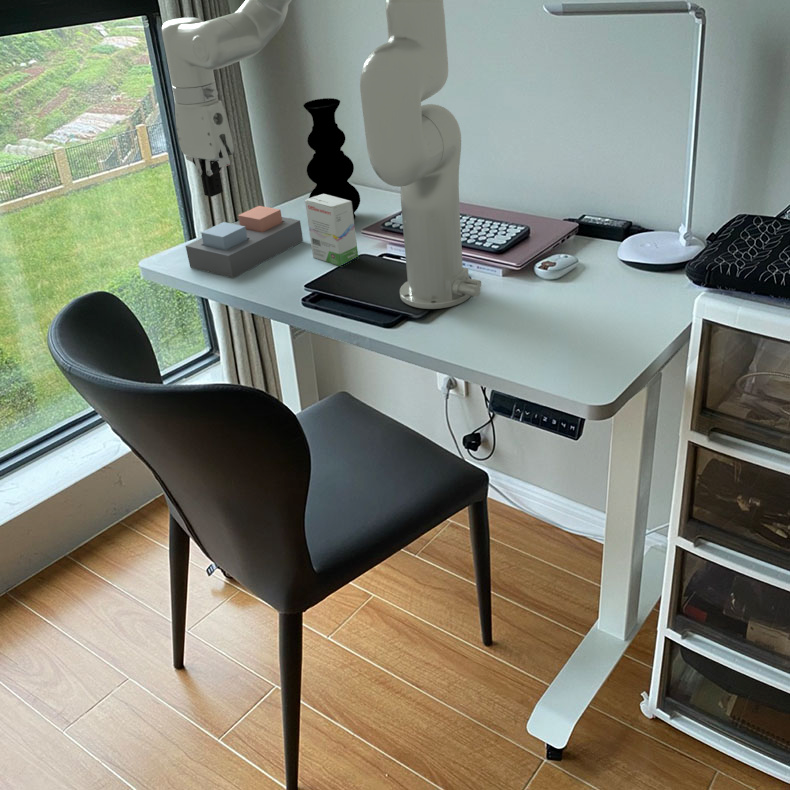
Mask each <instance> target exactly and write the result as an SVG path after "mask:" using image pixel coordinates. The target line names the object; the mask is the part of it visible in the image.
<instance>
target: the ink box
mask: <svg viewBox="0 0 790 790" xmlns="http://www.w3.org/2000/svg"><path fill="white" fill-rule="evenodd" d="M304 203H305V210H306V217H307V224H308V225H307V226H308V230H309V238H310V245H311V253H312V258H314V259H316V260H320V261H323V262H326V263H328V264H332V265H335V266H338V267H341V266H340V265H342V264H344V263H346V262H348V261H350V260H352V259H354V258H356V257H358V258H359V252H358V243H357V235H356V227H355V219H354V218H353V209H352V201H349V200H346V199H342V198H338V197H334V196H330V195H327V194H321V195H318V196H315V197H312V198H309V197H308V198H306V199H305V200H304Z"/></svg>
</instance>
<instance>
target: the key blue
mask: <svg viewBox="0 0 790 790" xmlns="http://www.w3.org/2000/svg"><path fill="white" fill-rule="evenodd" d="M200 235H201V238H202V239H203V244H204V246H207V247H211V248H216V249H220V250H224V251H225V250H227V249H230V248H232V247H234V246H236V245H238V244H240V243H242V242H244V241H246V240H248V239H247V233H246V228H245V226H241V225H236V224H233V223H230V222H226V221H223V222H221V223H218V224H216V225H214V226H211V227H209V228H208V229H205V230H203V231H201V232H200Z"/></svg>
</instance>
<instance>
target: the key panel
mask: <svg viewBox="0 0 790 790" xmlns="http://www.w3.org/2000/svg"><path fill="white" fill-rule="evenodd" d="M282 222H283V223H280V224H278V225H276V226H274V227H272V228H270V229H268V230H266V231H264V232H262V233H261V232H256V231H251V230H247V229H246V233H247V239H248V240H246V241H244V242H242V243H240V244H238V245H236V246H234V247H232V248H230V249H227V250H225V251H224V250H220V249H216V248H211V247H207V246H204V244H203V239H202V237H201V238H199V239H197V240H195V241H192V242H190V243H188V244H187V245H185V250H186V251H185V252H186V255H187V259H188V264H189V267H190V268H191V269H194V270H199V271H203V272H207V273H211V274H215V275H219V276H223V277H227V278H231V279H234V278H236V277H239V276H240V275H242V274H243V273H246V272H248V271H250V270H251V269H253V268H256V267H257V266H259V265H261V264H263V263H265V262H266V261H269V260H271V259H273V258H275V257H276V256H279V255H281V254H282V253H284V252H286V251H288V250H290V249H292V248H294V247H296V246H297V245H299V244H301V243H304V238H303V232H302V231H303V230H302V224H301V220H299V219H295V218H290V217H289V218H288V217H284V216H282ZM232 224H236V225H240V223H239V220H238V221H235V222H233V223H232Z"/></svg>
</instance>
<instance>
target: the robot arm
mask: <svg viewBox="0 0 790 790" xmlns="http://www.w3.org/2000/svg"><path fill="white" fill-rule="evenodd" d="M292 1H293V0H245V1H244V2H243V3H242V4H241V6H240V7H239V8H238V9H237V10H236V11H235V12H233V13H230V14H226V15H223V16H219V17H216V18H213V19H209V20H206V21H203V20H202V19H201V18H197V17H181V18H180V17H179V18H173V19H170V20H167V21H164V23H163V24H162V26H161V35H162V41H163V45H164V46H163V47H164V51H165V56H166V61H167V65H168V66H167V67H168V71H169V76H170V81H171V87H172V91H173V92H172V93H173V97H174V115H175V124H176V125H175V127H176V134H177V137H178V144H179V147H180V151H181V153H182V154H183V155H185V159H186V160H187V161H189V162H190V163H193V164H194V165H195V167H196V170H197V173H198V174H199V175H200V177H201V183H202V188H203V193H204V195H205V197H206V196H207V197H208V196H209V197H210V198H211V197H215V196H217V195H219V194H222V193H223V192H224V191H223V183H222V180H221V179H222V178H221V174H220V173H222V168H225V167H228V166H230V165H231V160H230V158H229V156H232V155H234V153H235V147H234V142H233V141H234V140H233V137H232V131H231V129H230V125H229V124H230V123H229V120H228V116H227V113H226V111H225V107H224V105H223V102H222V100H220V99H219V96H218V95H219V92H218V90H217V85H216V80H215V79H216V78H215V73H214V70H218V69H222V68H226V67H227V66H231V65H233V64H236V63H237V62H242V61H244V60H247V59H250V58H252V57H254V56H256V55H257V54H258V53H259V52H261V51H262V50H263V49H264V48H265V47H266V45H268V43H269V42H270V41H271V40H272V39H273V37H275V36H276V34H277V33H278V32H279V31H280V29H281V28H282V26H283V25H284V22H285V20H286V17H287V14H288V11H289V5H290V3H291V2H292ZM444 6H445V5H444V0H385V14H386V16H385V17H386V24H387V42H385V43H384V44H381V45H379V46H377V47H376V48H375V49H374V50H372V52H370V53H369V54H368V56H367V57H366V58H365V61H364V63H363V65H362V69H361V71H360V72H361V73H360V79H359V81H360V83H359V90H360V100H361V108H362V116H363V125H364V134H365V141H366V143H365V144H366V150H367V155H368V159H369V162H370V164H371V168H372V169H373V171H374V173H375V175H377V177H378V178H379V179H380V180H381V181H382V182H384V183H385V184H387V185H389V186H392V187H398V188H399V187H400V206H401V219H402V220H401V221H402V230H403V242H404V253H405V255H404V256H405V265H406V276H407V277H406V278H407V281H405V282H404V283H403V284H402V285H401V286H400V288H399V297H400V300H401V301H402V302H403V303H405V304H406V305H407V306H410V307H413V308H418V309H425V310H426V309H427V310H437V309H446V308H447V309H448V308H451V307H454V306H457V305H460V304H462V303H464V302H466V301H468V299H469V298H470V297H475V298H478V297H479V296H480V294H481V288H482V287H481V286H482V280H481V279H474V278H470V276H469V268H466V267H463V250H462V234H461V233H462V231H461V230H462V229H461V211H460V210H461V209H460V187H459V186H460V184H459V183H460V181H459V180H460V165H461V163H460V162H461V156H462V155H461V154H462V153H461V152H462V133H461V128H460V125H459V122H458V120H457V119H456V117H455V116H454V114H453V113H452V112H451V111H450V110H449V109H447V108H446V107H444V106H442V105H439V104H433V103H430V104H423V105H422V103H423V101H426V100H428V99H430V98H431V97H432V96H434V95H435V94H437V93H438V92H440V91H441V90H442V89H443V87H445V85H446V83H447V81H448V77H449V58H448V46H447V45H448V43H447V29H446V19H445V18H446V17H445V15H446V14H445V8H444Z"/></svg>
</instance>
